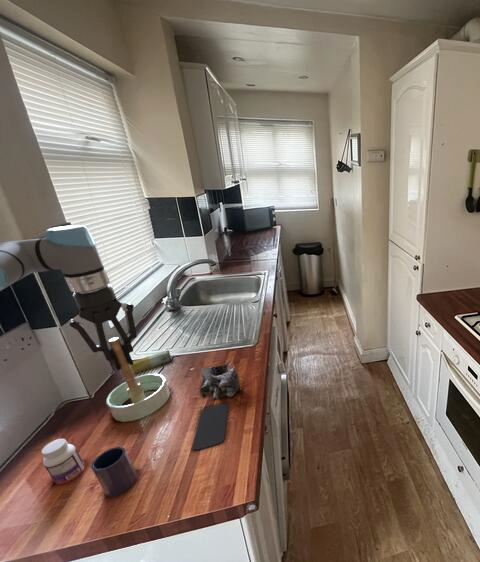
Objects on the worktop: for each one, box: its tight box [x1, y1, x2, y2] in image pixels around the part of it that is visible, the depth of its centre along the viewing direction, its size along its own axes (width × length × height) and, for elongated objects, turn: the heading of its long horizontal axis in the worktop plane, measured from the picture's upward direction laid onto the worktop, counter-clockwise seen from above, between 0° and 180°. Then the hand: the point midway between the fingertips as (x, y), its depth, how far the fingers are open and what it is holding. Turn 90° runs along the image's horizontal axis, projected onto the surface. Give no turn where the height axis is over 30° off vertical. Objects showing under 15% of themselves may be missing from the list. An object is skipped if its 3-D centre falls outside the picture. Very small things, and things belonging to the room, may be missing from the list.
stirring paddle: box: [107, 336, 147, 404], centre depth 86 cm, size 3×2×22 cm
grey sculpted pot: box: [198, 361, 241, 399], centre depth 98 cm, size 12×11×15 cm
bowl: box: [106, 373, 171, 423], centre depth 92 cm, size 14×14×6 cm
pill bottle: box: [41, 438, 86, 485], centre depth 71 cm, size 5×5×10 cm
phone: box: [192, 403, 229, 451], centre depth 84 cm, size 7×1×15 cm
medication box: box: [130, 350, 173, 375], centre depth 110 cm, size 12×3×4 cm, turn 129°
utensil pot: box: [90, 446, 138, 498], centre depth 68 cm, size 6×6×9 cm
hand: (124, 365), depth 85 cm, fingers closed on stirring paddle, 2 cm apart
